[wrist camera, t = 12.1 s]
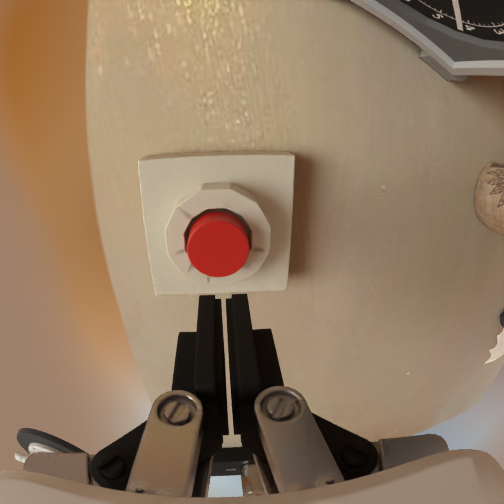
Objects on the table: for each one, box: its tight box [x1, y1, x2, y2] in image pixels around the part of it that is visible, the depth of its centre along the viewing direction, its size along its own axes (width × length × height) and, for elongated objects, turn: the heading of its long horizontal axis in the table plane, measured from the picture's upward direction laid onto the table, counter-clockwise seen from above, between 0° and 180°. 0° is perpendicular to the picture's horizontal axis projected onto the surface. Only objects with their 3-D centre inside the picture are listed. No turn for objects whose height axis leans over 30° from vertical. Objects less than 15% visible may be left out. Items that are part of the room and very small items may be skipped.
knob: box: [240, 463, 266, 497], centre depth 34 cm, size 4×4×5 cm
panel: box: [211, 447, 255, 476], centre depth 37 cm, size 14×9×3 cm, turn 90°
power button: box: [187, 212, 250, 277], centre depth 18 cm, size 4×4×2 cm
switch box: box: [138, 151, 295, 295], centre depth 20 cm, size 10×10×4 cm
